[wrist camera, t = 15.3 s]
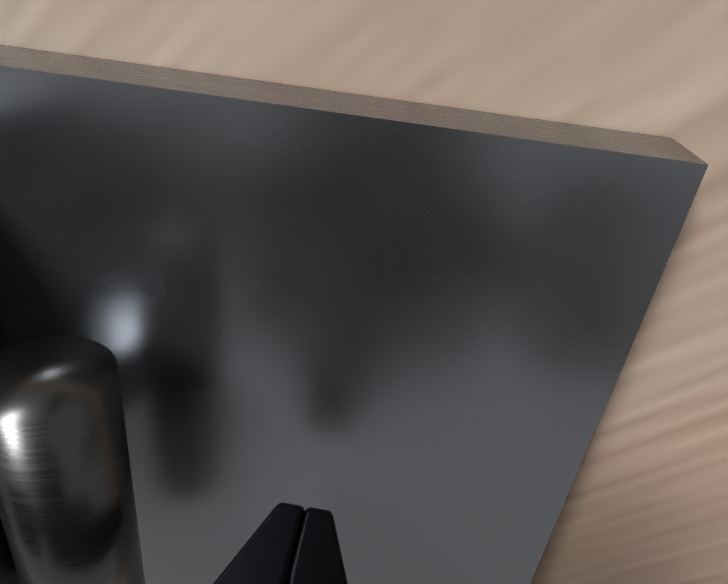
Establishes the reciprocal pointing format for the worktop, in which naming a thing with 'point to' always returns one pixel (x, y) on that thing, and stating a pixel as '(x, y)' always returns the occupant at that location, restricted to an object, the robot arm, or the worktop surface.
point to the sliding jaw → (65, 467)
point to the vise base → (333, 302)
